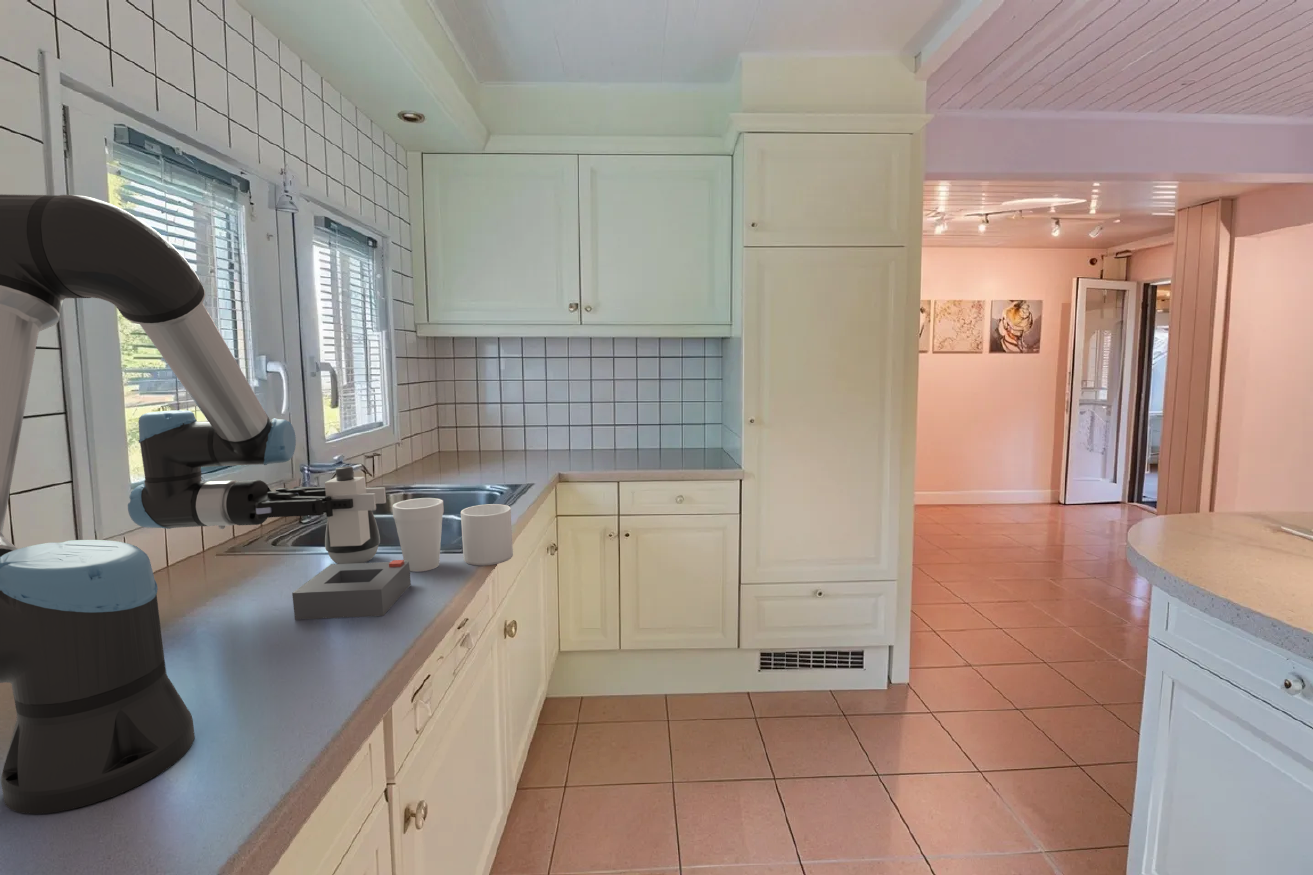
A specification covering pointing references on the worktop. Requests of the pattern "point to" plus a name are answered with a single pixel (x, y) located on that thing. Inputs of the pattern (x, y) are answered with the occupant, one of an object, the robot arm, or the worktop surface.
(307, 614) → the socket
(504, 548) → the mug
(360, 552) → the pump dispenser
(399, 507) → the foam cup
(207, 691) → the worktop surface
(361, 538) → the plug
